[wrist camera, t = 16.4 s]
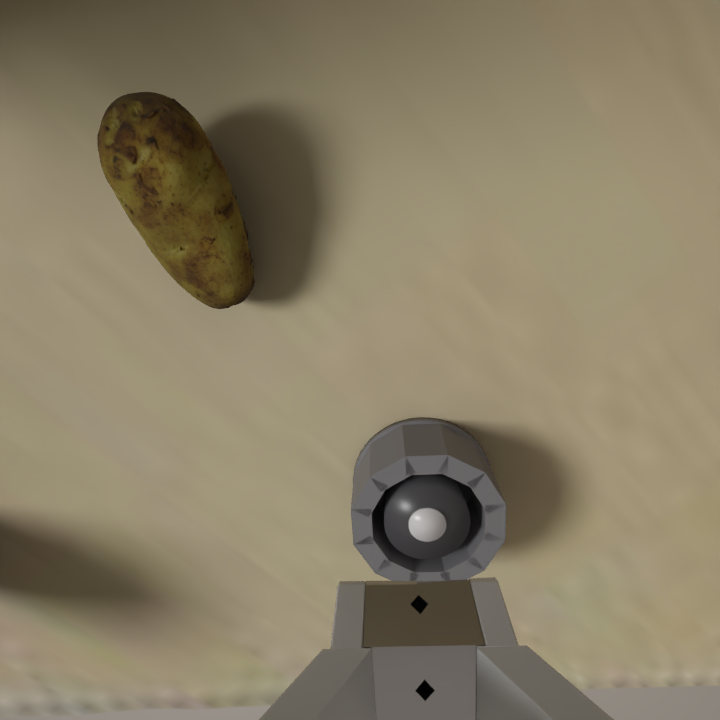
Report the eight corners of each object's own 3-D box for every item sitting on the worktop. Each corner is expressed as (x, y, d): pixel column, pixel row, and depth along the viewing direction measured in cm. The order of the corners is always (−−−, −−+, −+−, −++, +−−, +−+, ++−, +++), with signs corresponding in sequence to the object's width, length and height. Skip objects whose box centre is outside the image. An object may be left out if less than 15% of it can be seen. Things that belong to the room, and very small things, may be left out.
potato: (152, 300, 38) (96, 323, 31) (133, 109, 35) (63, 81, 27) (264, 302, 38) (235, 326, 30) (256, 110, 34) (221, 82, 27)
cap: (382, 452, 40) (382, 488, 35) (459, 450, 40) (471, 486, 35) (384, 519, 42) (385, 563, 37) (459, 518, 42) (470, 561, 37)
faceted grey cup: (349, 420, 40) (343, 456, 35) (491, 414, 40) (510, 449, 34) (357, 541, 44) (354, 592, 38) (489, 537, 43) (506, 588, 37)
